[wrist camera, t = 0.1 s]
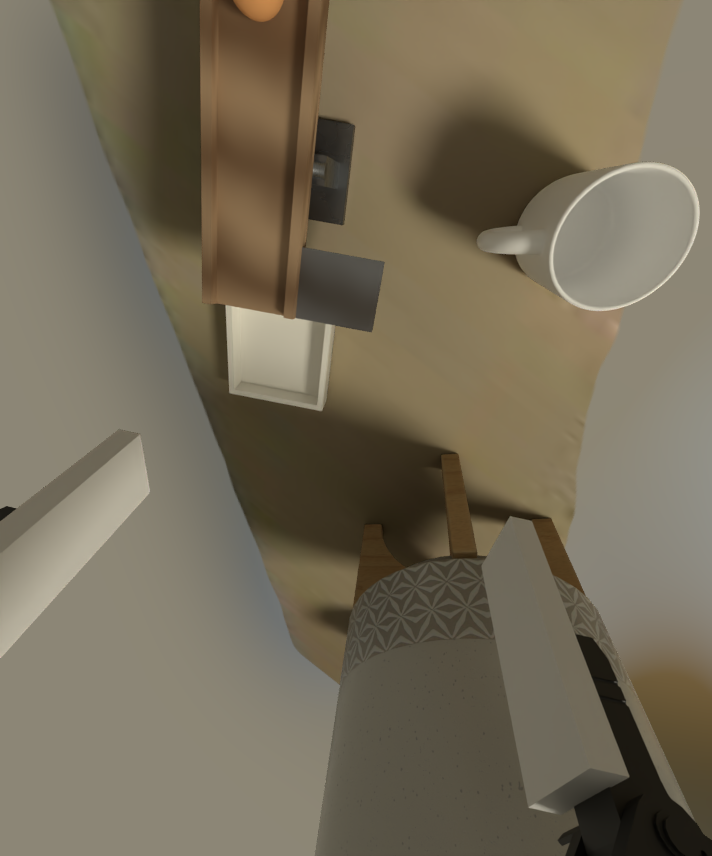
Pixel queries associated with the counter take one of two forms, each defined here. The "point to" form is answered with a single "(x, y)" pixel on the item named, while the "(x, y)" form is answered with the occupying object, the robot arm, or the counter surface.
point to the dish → (278, 357)
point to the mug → (604, 234)
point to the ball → (259, 8)
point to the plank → (269, 170)
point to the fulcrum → (331, 171)
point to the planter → (443, 707)
